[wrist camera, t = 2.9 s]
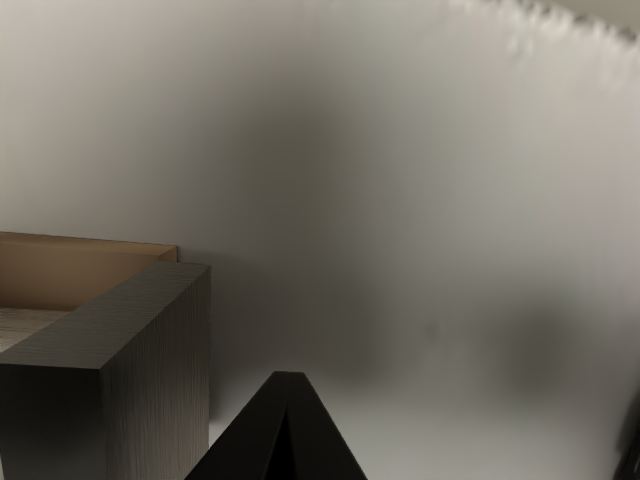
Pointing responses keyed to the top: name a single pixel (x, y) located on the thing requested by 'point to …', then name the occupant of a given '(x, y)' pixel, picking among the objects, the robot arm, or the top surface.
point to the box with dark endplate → (109, 382)
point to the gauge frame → (68, 269)
